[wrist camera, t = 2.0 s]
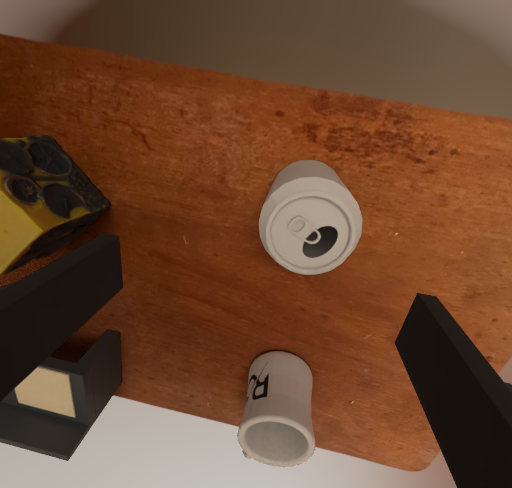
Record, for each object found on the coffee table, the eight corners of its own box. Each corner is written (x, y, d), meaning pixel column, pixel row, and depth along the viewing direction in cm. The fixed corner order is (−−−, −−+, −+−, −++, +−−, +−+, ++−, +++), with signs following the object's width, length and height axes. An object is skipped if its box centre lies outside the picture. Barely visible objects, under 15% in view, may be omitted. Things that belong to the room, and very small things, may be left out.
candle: (67, 247, 37) (-8, 287, 28) (5, 184, 34) (-100, 207, 25) (114, 204, 33) (46, 235, 24) (49, 132, 31) (-54, 136, 22)
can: (306, 240, 32) (310, 302, 21) (256, 197, 30) (233, 238, 20) (357, 192, 29) (393, 234, 18) (305, 142, 28) (309, 155, 17)
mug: (272, 337, 38) (263, 404, 29) (325, 369, 39) (333, 444, 30) (228, 385, 43) (209, 455, 34) (276, 412, 44) (270, 487, 35)
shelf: (12, 353, 48) (-74, 421, 37) (-2, 302, 43) (-104, 363, 32) (122, 381, 46) (68, 461, 36) (119, 332, 42) (57, 405, 31)
